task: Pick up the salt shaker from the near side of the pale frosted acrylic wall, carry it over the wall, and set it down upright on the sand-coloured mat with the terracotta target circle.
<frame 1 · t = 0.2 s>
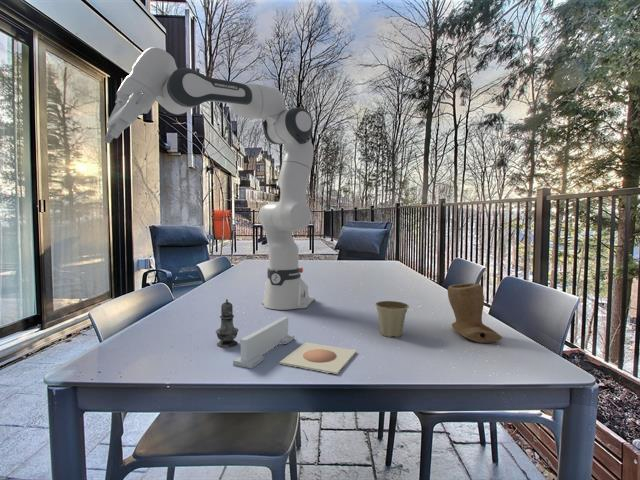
hand: (109, 139, 98), 54 cm above the table, tool tilted 30°, fingers open, 8 cm apart
acrylic wall: (266, 350, 91), on the table
brown boot: (470, 336, 104), on the table
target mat: (319, 358, 87), on the table
flower pot: (391, 334, 105), on the table
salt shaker: (227, 344, 96), on the table
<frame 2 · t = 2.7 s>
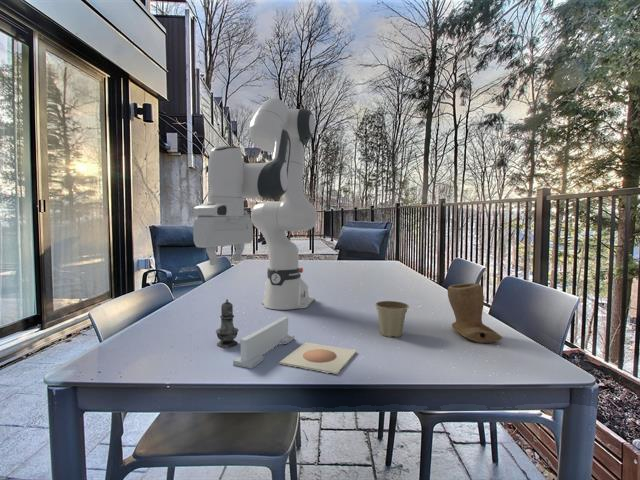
hand: (226, 262, 94), 21 cm above the table, tool pointing down, fingers open, 8 cm apart
nothing on the table moved.
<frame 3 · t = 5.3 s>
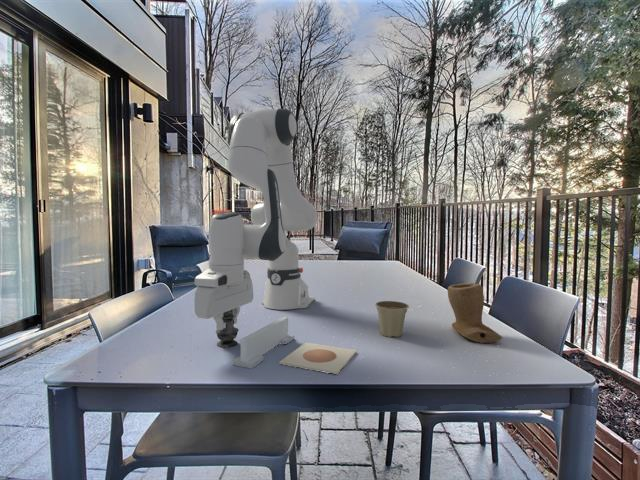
hand: (227, 326, 95), 5 cm above the table, tool pointing down, fingers closed on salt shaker, 3 cm apart
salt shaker: (227, 344, 96), on the table, touching gripper
everything else where it was.
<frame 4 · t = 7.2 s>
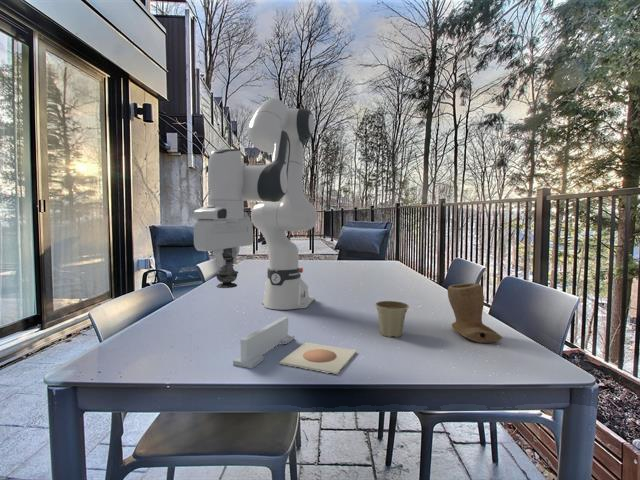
hand: (226, 265, 94), 21 cm above the table, tool pointing down, fingers closed on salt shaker, 3 cm apart
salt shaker: (227, 286, 95), point 15 cm above the table, touching gripper
everything else where it was.
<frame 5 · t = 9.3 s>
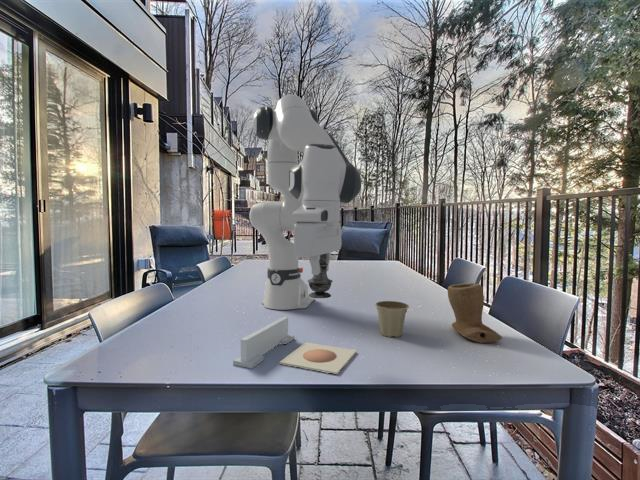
hand: (320, 273, 85), 21 cm above the table, tool pointing down, fingers closed on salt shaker, 3 cm apart
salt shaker: (319, 296, 86), point 15 cm above the table, touching gripper
everything else where it was.
when the fingers open (7 cm above the table, at t = 12.5 s): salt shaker stays where it is, resting on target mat.
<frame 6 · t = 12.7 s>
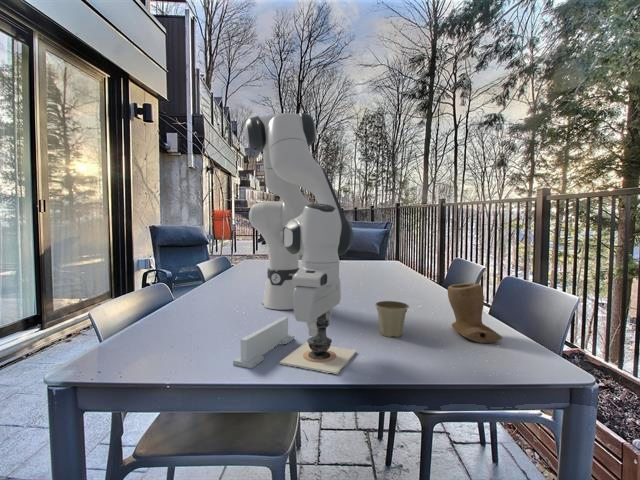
hand: (319, 330, 86), 7 cm above the table, tool pointing down, fingers open, 6 cm apart
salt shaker: (319, 355, 87), point 1 cm above the table, touching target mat
everything else where it was.
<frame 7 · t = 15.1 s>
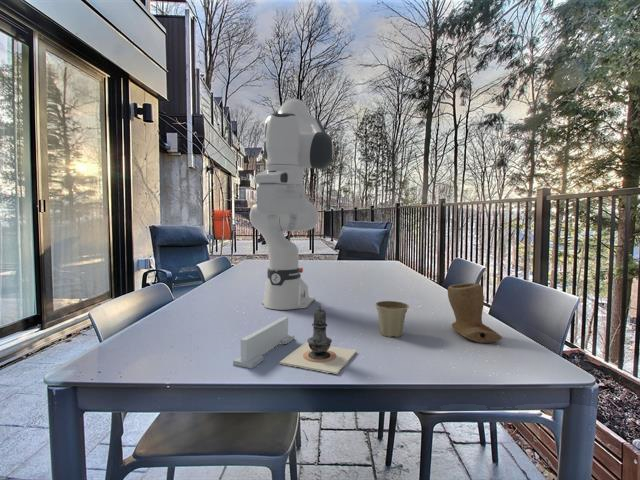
hand: (283, 231, 95), 30 cm above the table, tool pointing down, fingers open, 8 cm apart
nothing on the table moved.
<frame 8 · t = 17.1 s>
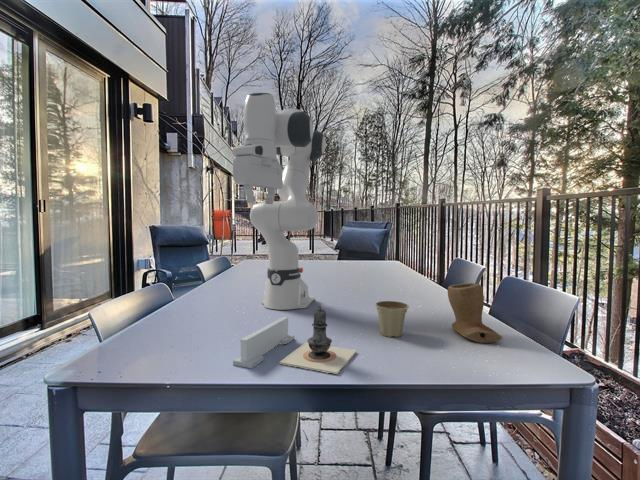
hand: (260, 203, 101), 37 cm above the table, tool pointing down, fingers open, 8 cm apart
nothing on the table moved.
at the end: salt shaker inside the target area on the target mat (0.1 cm from its centre), point 0.5 cm above the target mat's base; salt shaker tilted 0°; the gripper is holding nothing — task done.
